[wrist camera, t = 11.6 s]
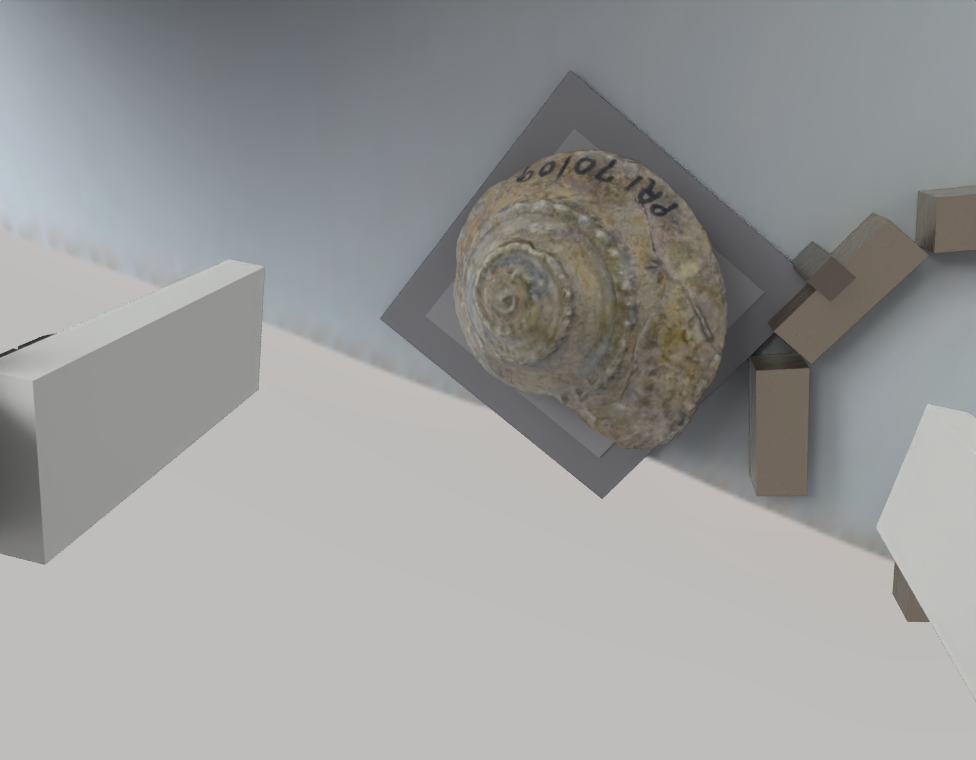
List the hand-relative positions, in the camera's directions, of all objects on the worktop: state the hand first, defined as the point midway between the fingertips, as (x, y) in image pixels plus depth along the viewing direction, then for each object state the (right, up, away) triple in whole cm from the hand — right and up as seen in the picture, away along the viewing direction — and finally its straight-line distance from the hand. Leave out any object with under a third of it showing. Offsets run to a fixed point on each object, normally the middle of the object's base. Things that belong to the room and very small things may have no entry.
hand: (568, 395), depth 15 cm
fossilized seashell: (+3, +4, +17) cm, 18 cm away
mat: (+3, +4, +18) cm, 18 cm away
